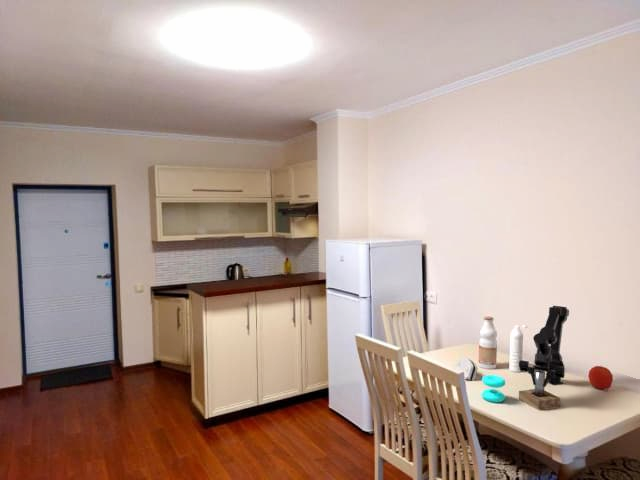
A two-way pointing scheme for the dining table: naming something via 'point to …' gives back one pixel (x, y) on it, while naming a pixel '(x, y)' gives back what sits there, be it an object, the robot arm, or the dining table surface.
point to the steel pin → (539, 383)
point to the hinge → (467, 368)
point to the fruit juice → (488, 345)
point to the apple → (600, 377)
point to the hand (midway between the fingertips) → (539, 385)
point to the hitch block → (539, 399)
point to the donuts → (493, 394)
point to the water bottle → (516, 348)
